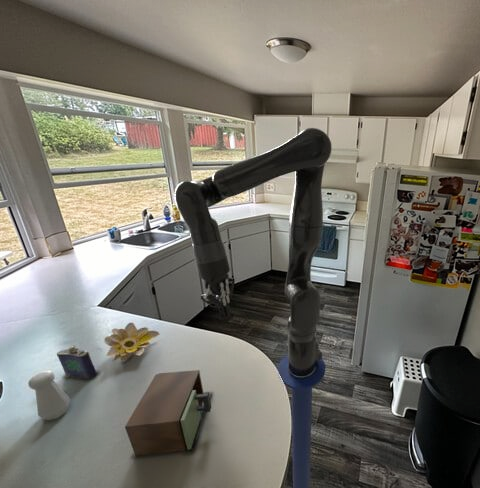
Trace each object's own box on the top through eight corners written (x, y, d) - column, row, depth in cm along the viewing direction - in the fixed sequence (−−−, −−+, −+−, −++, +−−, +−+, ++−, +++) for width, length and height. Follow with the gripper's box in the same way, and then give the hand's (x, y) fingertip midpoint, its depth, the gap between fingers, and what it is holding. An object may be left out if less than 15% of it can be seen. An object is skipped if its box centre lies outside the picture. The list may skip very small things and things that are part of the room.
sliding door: (213, 416, 66) (208, 388, 63) (204, 447, 59) (198, 418, 56) (198, 417, 66) (192, 390, 62) (187, 449, 59) (180, 420, 55)
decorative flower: (135, 367, 78) (121, 340, 76) (102, 372, 79) (88, 346, 77) (165, 336, 93) (155, 313, 90) (138, 341, 94) (127, 318, 91)
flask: (63, 376, 76) (51, 349, 73) (73, 369, 79) (62, 342, 75) (91, 379, 76) (81, 352, 72) (100, 371, 79) (91, 344, 75)
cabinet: (211, 393, 73) (206, 368, 69) (193, 450, 59) (187, 421, 56) (163, 398, 71) (156, 372, 68) (134, 457, 57) (123, 428, 54)
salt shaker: (45, 428, 63) (25, 390, 58) (38, 415, 65) (18, 379, 61) (75, 409, 67) (59, 373, 63) (68, 398, 70) (52, 363, 66)
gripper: (208, 264, 59) (225, 329, 63) (236, 250, 72) (249, 304, 75) (181, 267, 60) (199, 330, 64) (213, 252, 73) (227, 306, 77)
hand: (226, 316), depth 70 cm, fingers closed
